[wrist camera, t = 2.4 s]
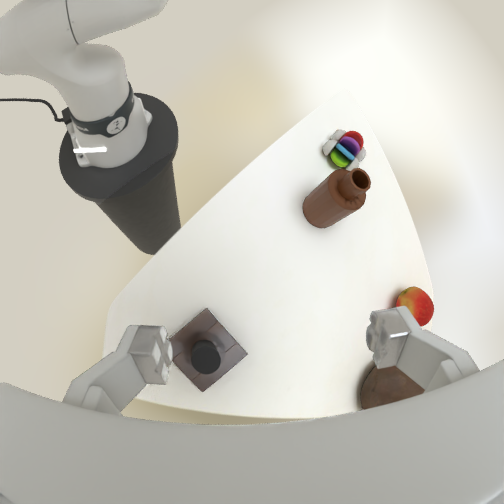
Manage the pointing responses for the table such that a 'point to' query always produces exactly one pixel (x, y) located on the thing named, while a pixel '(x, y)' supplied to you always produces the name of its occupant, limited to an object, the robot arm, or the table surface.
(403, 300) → the apple
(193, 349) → the cylinder
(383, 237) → the table surface
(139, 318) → the table surface
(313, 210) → the bottle
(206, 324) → the dark brown square mat
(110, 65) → the robot arm
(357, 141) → the rainbow disc toy
